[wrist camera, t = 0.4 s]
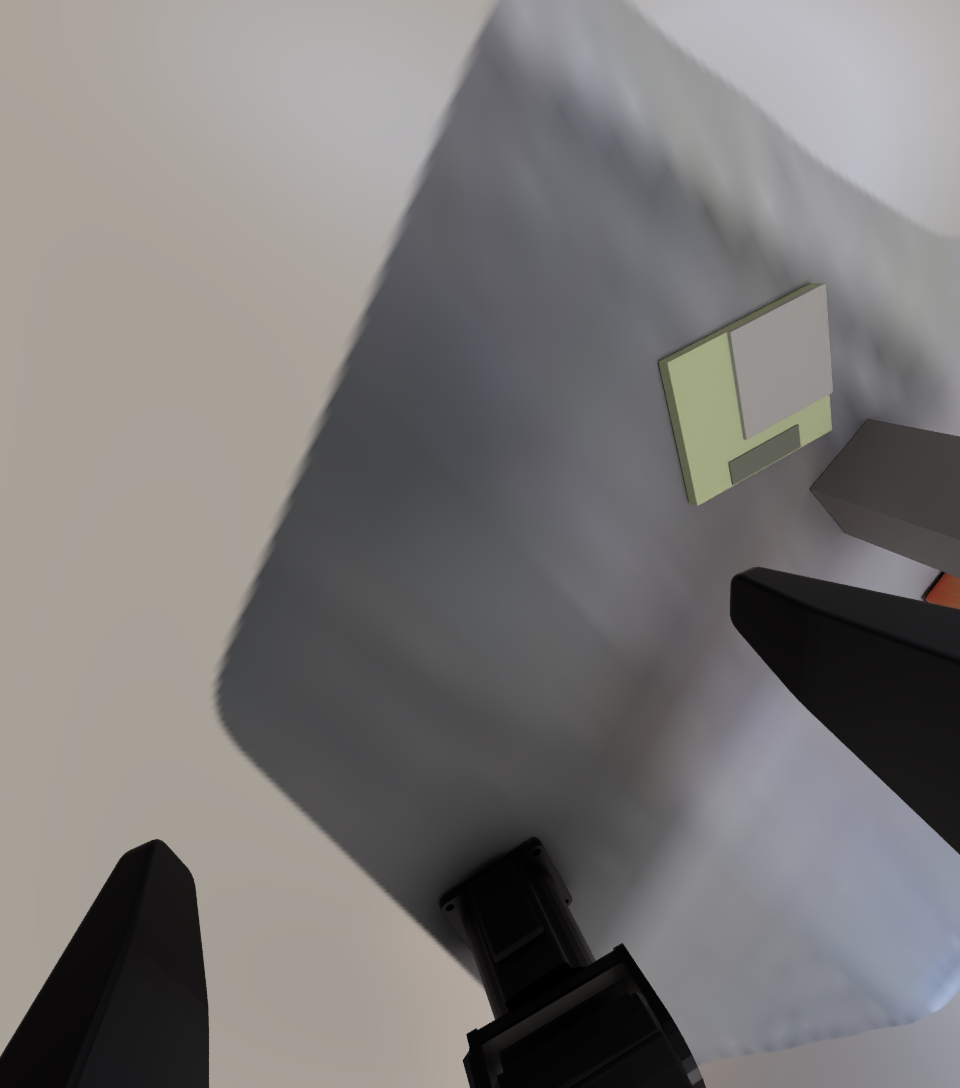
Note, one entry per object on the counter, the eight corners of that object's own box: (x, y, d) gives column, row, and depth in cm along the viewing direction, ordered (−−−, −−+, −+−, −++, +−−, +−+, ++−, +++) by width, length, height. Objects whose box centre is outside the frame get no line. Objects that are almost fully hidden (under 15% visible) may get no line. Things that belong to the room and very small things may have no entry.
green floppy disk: (821, 427, 29) (835, 430, 28) (689, 502, 27) (700, 507, 27) (809, 283, 25) (825, 282, 25) (658, 361, 24) (670, 363, 23)
